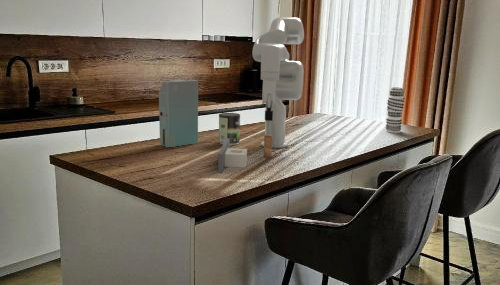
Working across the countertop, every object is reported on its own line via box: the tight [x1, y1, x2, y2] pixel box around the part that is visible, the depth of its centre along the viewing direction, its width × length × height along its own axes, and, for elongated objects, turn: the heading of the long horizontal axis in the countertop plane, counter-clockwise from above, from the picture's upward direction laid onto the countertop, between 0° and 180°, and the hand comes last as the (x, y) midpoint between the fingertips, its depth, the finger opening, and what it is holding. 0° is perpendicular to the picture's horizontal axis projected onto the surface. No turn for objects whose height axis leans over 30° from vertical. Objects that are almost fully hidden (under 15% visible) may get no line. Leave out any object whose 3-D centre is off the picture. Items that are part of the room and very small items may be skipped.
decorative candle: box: [385, 86, 405, 134], centre depth 261 cm, size 9×9×25 cm
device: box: [158, 79, 199, 148], centre depth 214 cm, size 16×8×30 cm, turn 132°
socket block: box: [224, 147, 248, 168], centre depth 182 cm, size 10×8×5 cm
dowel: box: [263, 134, 273, 159], centre depth 194 cm, size 3×3×10 cm
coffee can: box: [218, 112, 241, 146], centre depth 221 cm, size 10×10×14 cm
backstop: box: [217, 138, 231, 174], centre depth 181 cm, size 28×18×8 cm, turn 177°
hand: (268, 120), depth 191 cm, fingers closed
